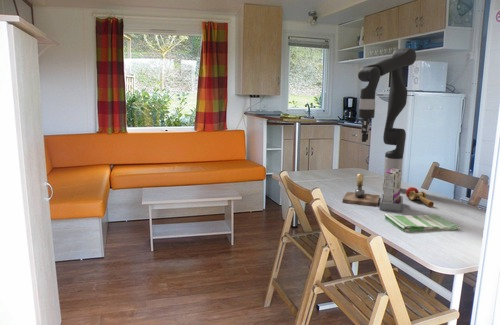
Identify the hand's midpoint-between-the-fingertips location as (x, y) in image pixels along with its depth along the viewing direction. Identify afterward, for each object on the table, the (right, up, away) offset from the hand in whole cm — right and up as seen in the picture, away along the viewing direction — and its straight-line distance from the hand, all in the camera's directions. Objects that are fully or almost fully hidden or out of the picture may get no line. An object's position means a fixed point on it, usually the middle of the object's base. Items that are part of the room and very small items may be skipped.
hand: (364, 140), depth 202 cm
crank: (-3, -27, 0) cm, 27 cm away
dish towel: (+11, -36, -39) cm, 55 cm away
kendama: (+25, -30, -7) cm, 40 cm away
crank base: (-3, -29, -5) cm, 30 cm away
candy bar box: (+8, -31, -15) cm, 35 cm away
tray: (+8, -31, -15) cm, 36 cm away
